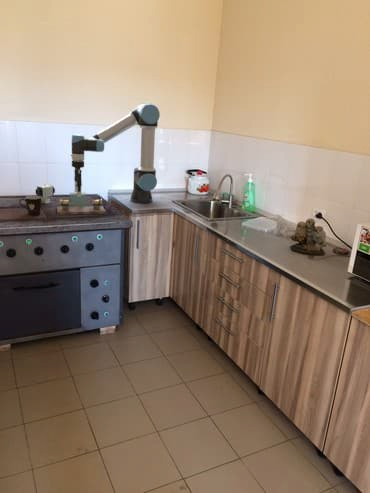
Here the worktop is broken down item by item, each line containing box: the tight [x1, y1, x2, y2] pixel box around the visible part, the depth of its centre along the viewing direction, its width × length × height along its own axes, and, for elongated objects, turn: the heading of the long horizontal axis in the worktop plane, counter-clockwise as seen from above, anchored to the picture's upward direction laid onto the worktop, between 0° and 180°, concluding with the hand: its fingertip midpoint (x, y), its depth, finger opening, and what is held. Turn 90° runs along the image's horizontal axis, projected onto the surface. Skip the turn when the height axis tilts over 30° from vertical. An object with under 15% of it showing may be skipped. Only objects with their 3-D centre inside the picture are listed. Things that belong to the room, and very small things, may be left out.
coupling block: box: [69, 192, 89, 207], centre depth 269 cm, size 11×5×8 cm, turn 109°
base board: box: [55, 205, 107, 216], centre depth 256 cm, size 28×13×2 cm, turn 109°
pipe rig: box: [58, 198, 103, 210], centre depth 255 cm, size 25×4×6 cm, turn 109°
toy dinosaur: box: [265, 213, 297, 237], centre depth 235 cm, size 7×24×11 cm, turn 65°
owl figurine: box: [289, 217, 327, 257], centre depth 210 cm, size 18×12×17 cm, turn 78°
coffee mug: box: [18, 195, 42, 217], centre depth 242 cm, size 12×9×10 cm
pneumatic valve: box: [35, 183, 56, 205], centre depth 269 cm, size 6×12×12 cm, turn 146°
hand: (77, 194), depth 268 cm, fingers open, 13 cm apart
